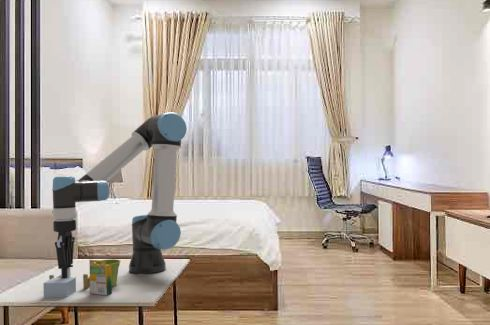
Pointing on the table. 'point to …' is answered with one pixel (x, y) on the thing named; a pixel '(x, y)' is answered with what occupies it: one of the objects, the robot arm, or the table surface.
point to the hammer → (85, 280)
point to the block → (59, 287)
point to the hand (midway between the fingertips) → (66, 286)
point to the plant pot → (112, 268)
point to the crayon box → (100, 278)
